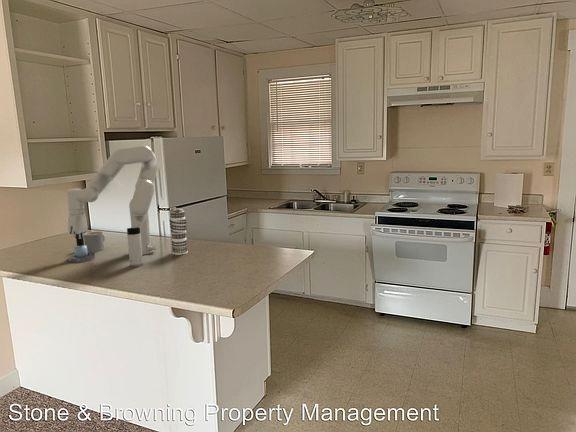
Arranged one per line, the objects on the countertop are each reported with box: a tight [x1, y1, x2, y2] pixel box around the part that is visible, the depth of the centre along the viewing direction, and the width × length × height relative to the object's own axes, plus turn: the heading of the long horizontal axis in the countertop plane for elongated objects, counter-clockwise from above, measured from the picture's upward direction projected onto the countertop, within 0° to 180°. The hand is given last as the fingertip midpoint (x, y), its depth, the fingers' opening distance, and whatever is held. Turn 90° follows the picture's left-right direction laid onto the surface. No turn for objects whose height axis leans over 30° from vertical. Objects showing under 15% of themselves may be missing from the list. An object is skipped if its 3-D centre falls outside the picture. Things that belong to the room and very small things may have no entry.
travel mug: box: [126, 227, 144, 268], centre depth 219 cm, size 6×7×20 cm
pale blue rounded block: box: [74, 244, 88, 257], centre depth 233 cm, size 6×6×7 cm
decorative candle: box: [169, 207, 189, 256], centre depth 240 cm, size 9×9×25 cm
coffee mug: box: [83, 230, 106, 253], centre depth 252 cm, size 13×10×10 cm
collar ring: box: [67, 252, 96, 263], centre depth 234 cm, size 13×13×2 cm
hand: (80, 245), depth 232 cm, fingers closed
